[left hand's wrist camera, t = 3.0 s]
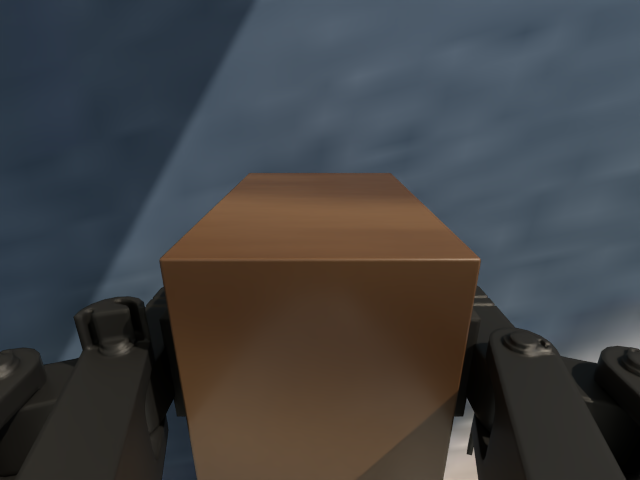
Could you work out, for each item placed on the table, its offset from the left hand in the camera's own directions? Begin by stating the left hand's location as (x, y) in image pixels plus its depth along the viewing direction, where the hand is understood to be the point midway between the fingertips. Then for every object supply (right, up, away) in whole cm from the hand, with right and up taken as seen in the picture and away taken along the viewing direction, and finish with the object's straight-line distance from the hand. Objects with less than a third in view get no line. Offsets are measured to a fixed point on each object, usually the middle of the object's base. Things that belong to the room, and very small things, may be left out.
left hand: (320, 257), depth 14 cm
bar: (0, -8, +4) cm, 9 cm away
